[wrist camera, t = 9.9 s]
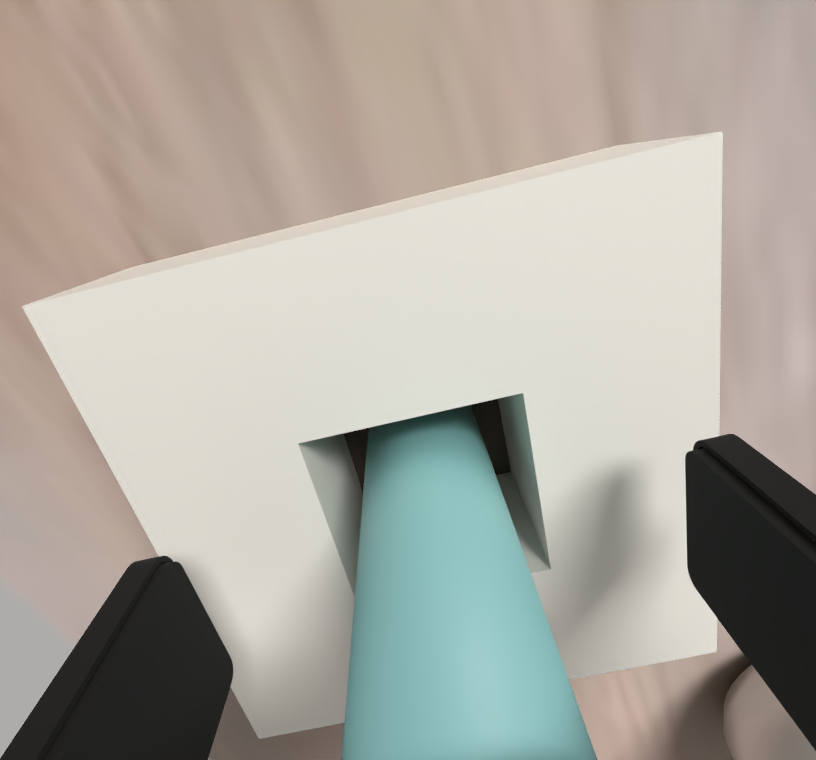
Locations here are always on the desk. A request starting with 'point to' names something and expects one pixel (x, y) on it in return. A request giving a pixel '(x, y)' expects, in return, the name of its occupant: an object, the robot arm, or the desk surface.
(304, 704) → the hole block
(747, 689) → the plastic bottle
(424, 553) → the peg
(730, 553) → the robot arm
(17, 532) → the desk surface
